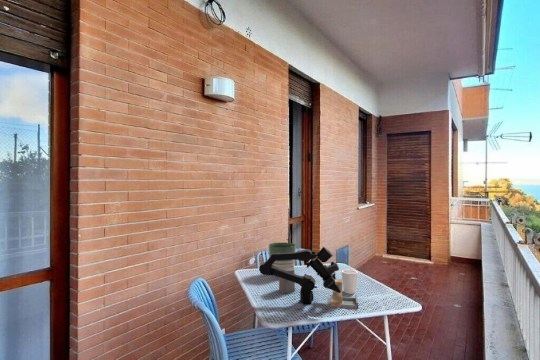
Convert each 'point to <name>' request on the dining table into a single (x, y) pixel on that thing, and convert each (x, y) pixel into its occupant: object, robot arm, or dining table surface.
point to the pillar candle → (286, 282)
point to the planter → (282, 249)
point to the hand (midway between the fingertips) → (340, 289)
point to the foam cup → (349, 281)
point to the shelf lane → (345, 302)
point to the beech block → (337, 296)
